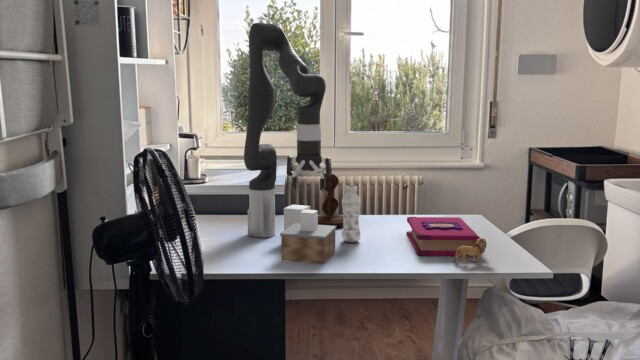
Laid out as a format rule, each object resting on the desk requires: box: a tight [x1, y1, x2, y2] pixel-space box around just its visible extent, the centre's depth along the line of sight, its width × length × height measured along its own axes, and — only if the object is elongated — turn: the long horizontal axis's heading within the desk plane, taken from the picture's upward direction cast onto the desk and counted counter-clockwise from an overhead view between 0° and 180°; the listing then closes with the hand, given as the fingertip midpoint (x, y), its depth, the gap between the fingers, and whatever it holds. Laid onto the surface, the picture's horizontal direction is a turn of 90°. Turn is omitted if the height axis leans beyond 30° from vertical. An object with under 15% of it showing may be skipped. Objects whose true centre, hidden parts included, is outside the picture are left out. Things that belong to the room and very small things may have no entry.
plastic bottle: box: [341, 184, 362, 243], centre depth 213 cm, size 6×7×20 cm
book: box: [405, 216, 481, 257], centre depth 212 cm, size 21×28×8 cm
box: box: [280, 229, 336, 265], centre depth 197 cm, size 14×14×8 cm
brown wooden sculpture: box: [318, 173, 344, 229], centre depth 238 cm, size 15×15×20 cm
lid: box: [279, 209, 337, 239], centre depth 196 cm, size 15×15×8 cm
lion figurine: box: [452, 237, 488, 265], centre depth 191 cm, size 12×4×7 cm, turn 113°
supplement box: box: [283, 204, 312, 231], centre depth 214 cm, size 7×7×13 cm
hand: (309, 189), depth 194 cm, fingers open, 8 cm apart
